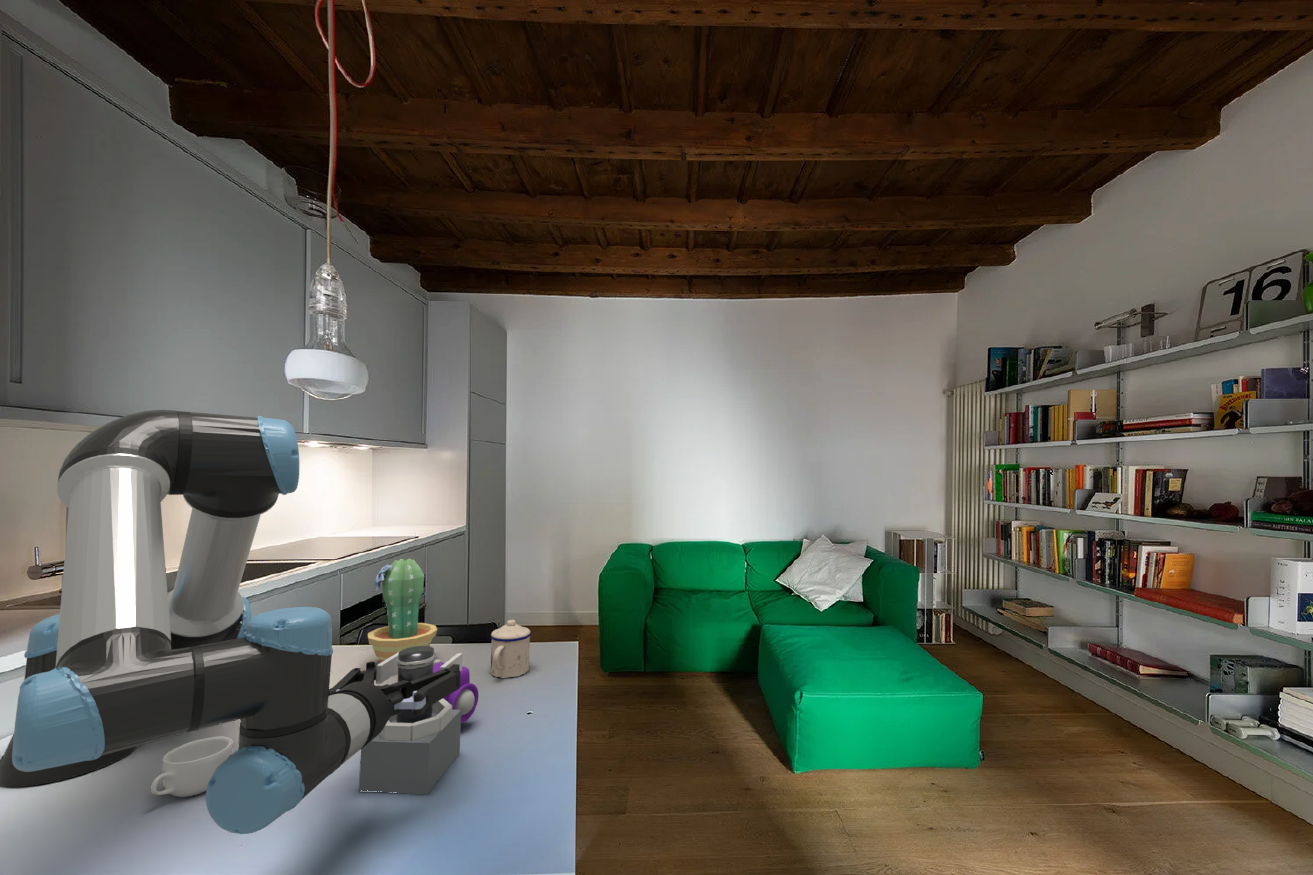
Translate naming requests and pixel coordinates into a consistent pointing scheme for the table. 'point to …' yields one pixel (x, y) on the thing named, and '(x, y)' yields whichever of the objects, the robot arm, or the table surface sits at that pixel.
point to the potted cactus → (401, 610)
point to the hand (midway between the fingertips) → (430, 660)
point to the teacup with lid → (510, 650)
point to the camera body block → (412, 753)
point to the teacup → (192, 766)
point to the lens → (414, 676)
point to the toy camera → (461, 693)
